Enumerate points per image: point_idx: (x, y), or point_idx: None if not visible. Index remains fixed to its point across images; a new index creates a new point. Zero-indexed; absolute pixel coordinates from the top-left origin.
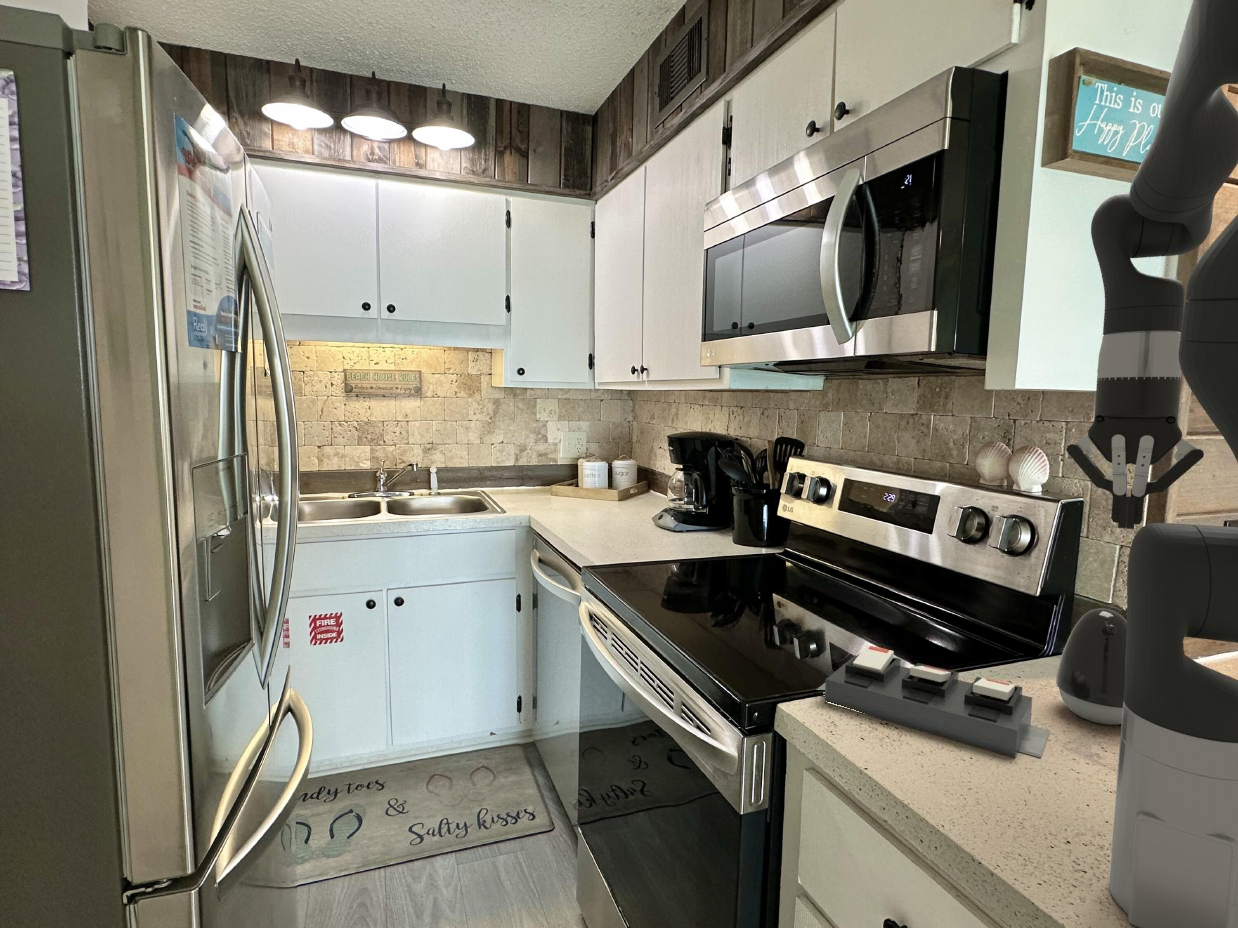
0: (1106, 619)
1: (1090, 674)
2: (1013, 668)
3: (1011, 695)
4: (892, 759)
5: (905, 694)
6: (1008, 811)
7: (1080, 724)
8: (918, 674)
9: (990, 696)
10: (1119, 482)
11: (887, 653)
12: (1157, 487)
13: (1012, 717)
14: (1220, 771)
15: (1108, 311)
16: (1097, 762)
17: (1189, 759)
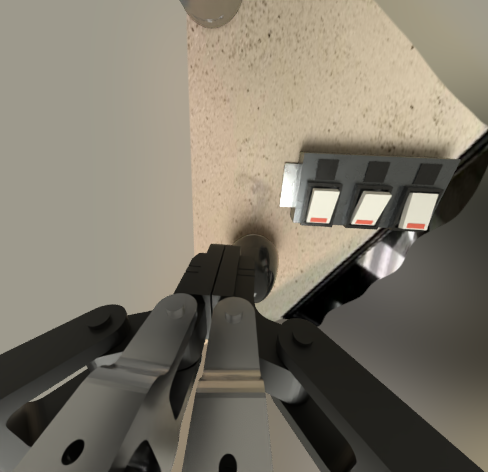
0: None
1: (259, 246)
2: (299, 292)
3: (308, 207)
4: (388, 83)
5: (388, 166)
6: (305, 54)
7: (262, 230)
8: (382, 192)
9: None
10: (232, 341)
11: (407, 222)
12: (104, 317)
13: (307, 176)
14: None
15: None
16: (253, 179)
17: None
